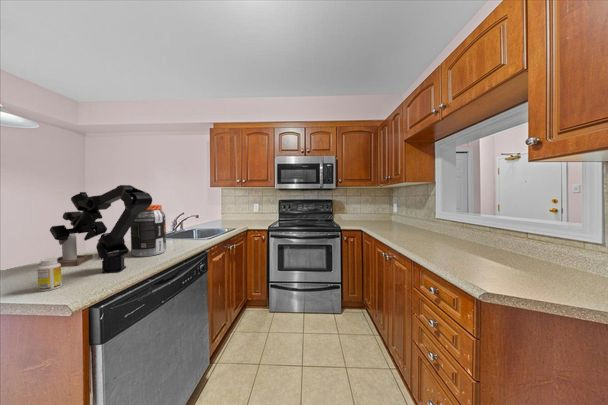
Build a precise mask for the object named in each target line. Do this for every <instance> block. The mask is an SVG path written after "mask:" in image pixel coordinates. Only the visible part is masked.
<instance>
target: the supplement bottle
mask: <svg viewBox="0 0 608 405" xmlns="http://www.w3.org/2000/svg"><path fill="white" fill-rule="evenodd" d="M57 258H58V257H48V258H47V257H46V258H43V259H41V260H40V261H39V262H40V265H38V267H37V269H36V270H37V271H36V272H37V283H38V284H37V286H38V287H37V288H38V290H39V291H40V292H48V291H53V290H57V289H58V288H60V287H62V286H63V281H62V278H63V277H62V267H61V264H60V263H57Z"/></svg>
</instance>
